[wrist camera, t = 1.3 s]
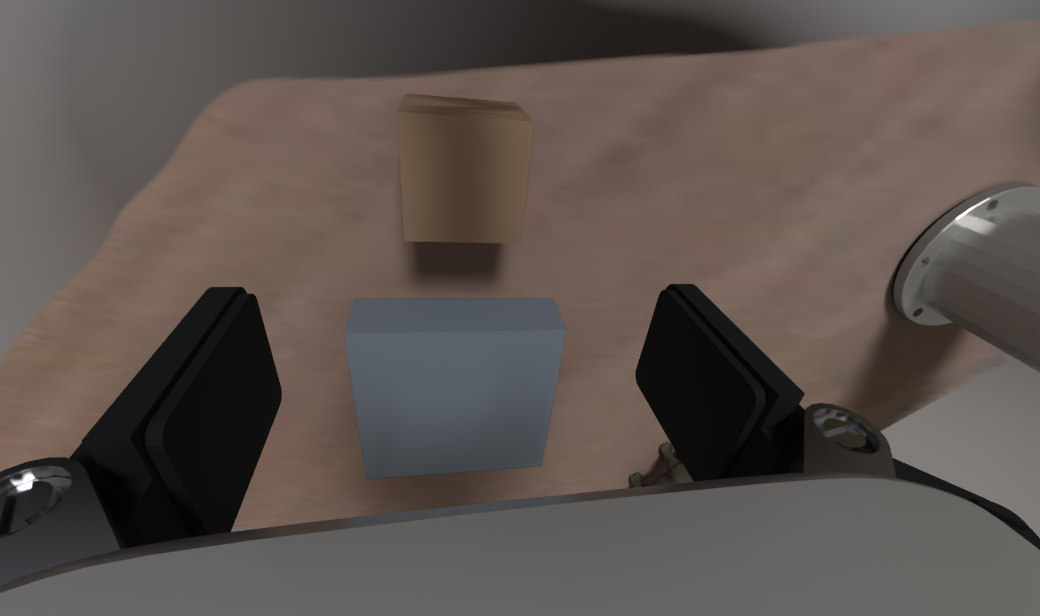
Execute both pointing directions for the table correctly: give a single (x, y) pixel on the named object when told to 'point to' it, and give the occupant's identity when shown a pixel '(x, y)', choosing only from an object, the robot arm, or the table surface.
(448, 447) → the pedestal
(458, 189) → the walnut cube
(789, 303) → the table surface
